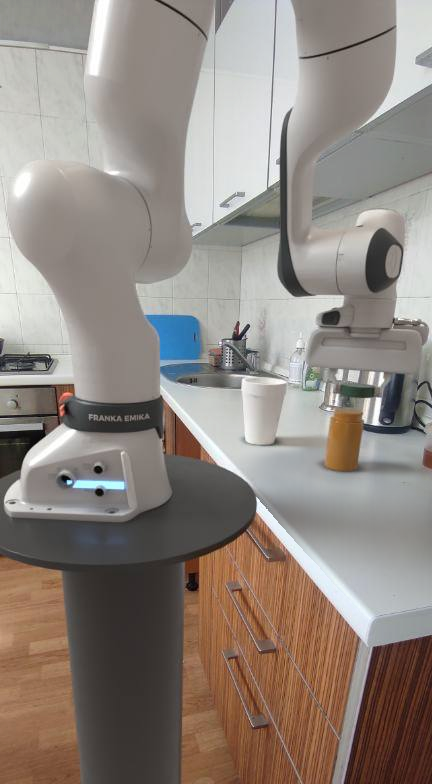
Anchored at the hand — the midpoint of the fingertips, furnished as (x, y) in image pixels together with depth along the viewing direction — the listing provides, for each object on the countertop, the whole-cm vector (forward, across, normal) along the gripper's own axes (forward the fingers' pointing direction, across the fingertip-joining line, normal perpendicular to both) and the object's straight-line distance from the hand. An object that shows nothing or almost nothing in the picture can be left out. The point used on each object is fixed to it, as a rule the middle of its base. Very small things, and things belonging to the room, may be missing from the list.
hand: (356, 395), depth 87 cm
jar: (+13, +1, +4) cm, 14 cm away
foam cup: (+13, +19, -4) cm, 24 cm away
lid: (-1, 0, 0) cm, 1 cm away
